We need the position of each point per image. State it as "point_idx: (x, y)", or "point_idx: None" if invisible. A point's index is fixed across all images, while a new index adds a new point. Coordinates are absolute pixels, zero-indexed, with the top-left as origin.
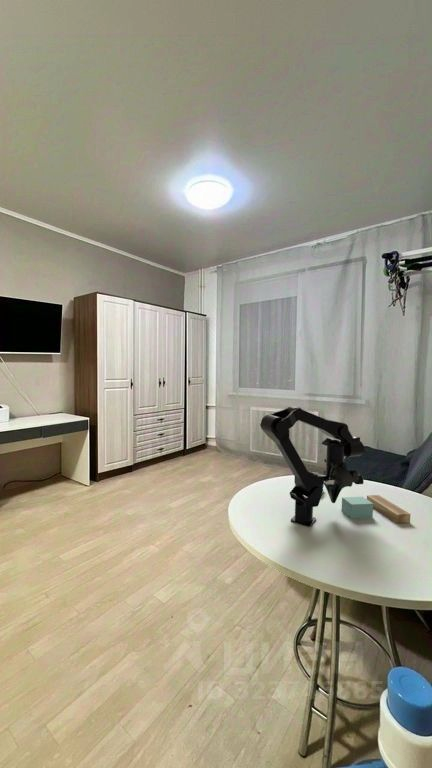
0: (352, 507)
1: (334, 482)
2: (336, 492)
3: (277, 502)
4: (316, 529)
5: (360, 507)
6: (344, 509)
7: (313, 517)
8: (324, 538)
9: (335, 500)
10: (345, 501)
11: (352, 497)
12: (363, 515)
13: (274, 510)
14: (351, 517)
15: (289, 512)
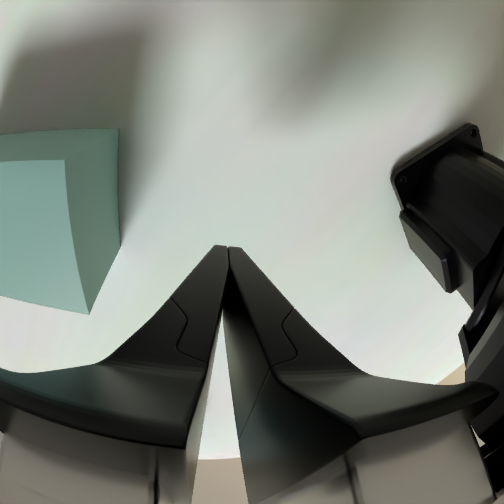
0: (70, 150)
1: (190, 488)
2: (215, 327)
3: (389, 359)
4: (455, 84)
5: (9, 151)
6: (109, 228)
7: (401, 190)
8: (467, 7)
9: (214, 256)
10: (83, 259)
11: (14, 293)
12: (27, 135)
13: (453, 304)
14: (113, 129)
15: (428, 282)
